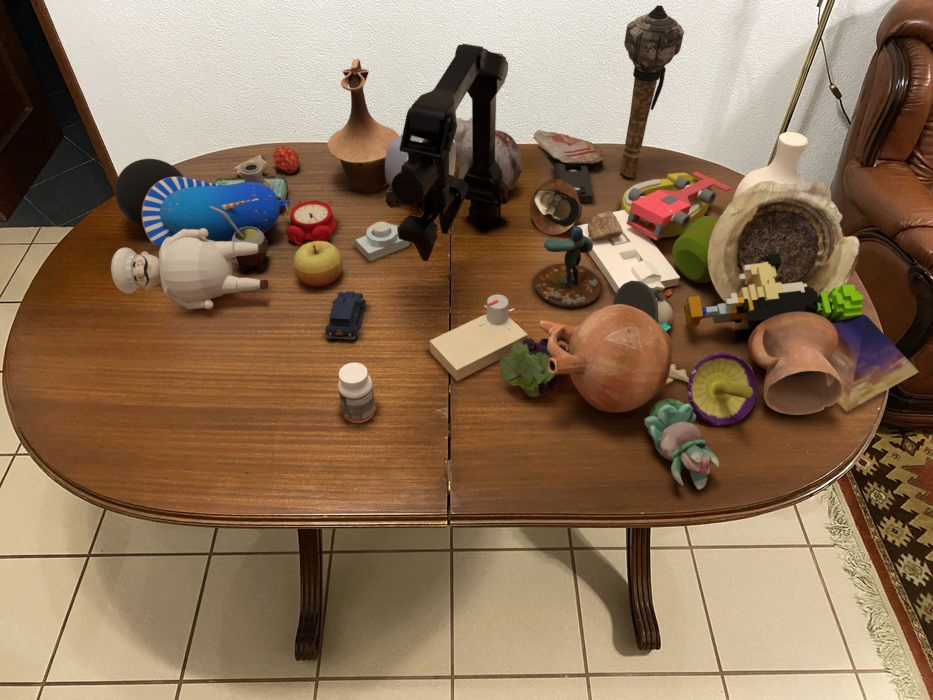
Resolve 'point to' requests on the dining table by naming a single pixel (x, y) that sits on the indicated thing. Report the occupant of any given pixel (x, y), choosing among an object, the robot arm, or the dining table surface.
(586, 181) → the vhs tape
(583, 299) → the figurine
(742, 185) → the vase
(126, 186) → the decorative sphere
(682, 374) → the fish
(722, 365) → the decorative mushroom
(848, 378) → the decorative sculpture
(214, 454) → the dining table surface
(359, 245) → the control knob block
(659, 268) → the building model
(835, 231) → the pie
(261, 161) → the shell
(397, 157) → the bowl
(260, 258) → the mate gourd
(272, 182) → the camera
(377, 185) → the brown clay flask
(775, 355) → the ceramic jug
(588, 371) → the jug
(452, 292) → the dining table surface
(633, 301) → the figurine
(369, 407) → the pill bottle
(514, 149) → the sculpture
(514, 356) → the fruit
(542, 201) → the brown hollow round piece
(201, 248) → the figurine
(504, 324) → the panel
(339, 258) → the apple
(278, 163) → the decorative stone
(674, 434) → the toy
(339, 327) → the toy car
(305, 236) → the alarm clock
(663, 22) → the mace
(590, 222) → the stone
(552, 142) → the stone artifact
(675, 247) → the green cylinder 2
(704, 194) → the race car
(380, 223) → the flush button
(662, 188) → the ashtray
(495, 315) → the knob
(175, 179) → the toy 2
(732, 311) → the toy
